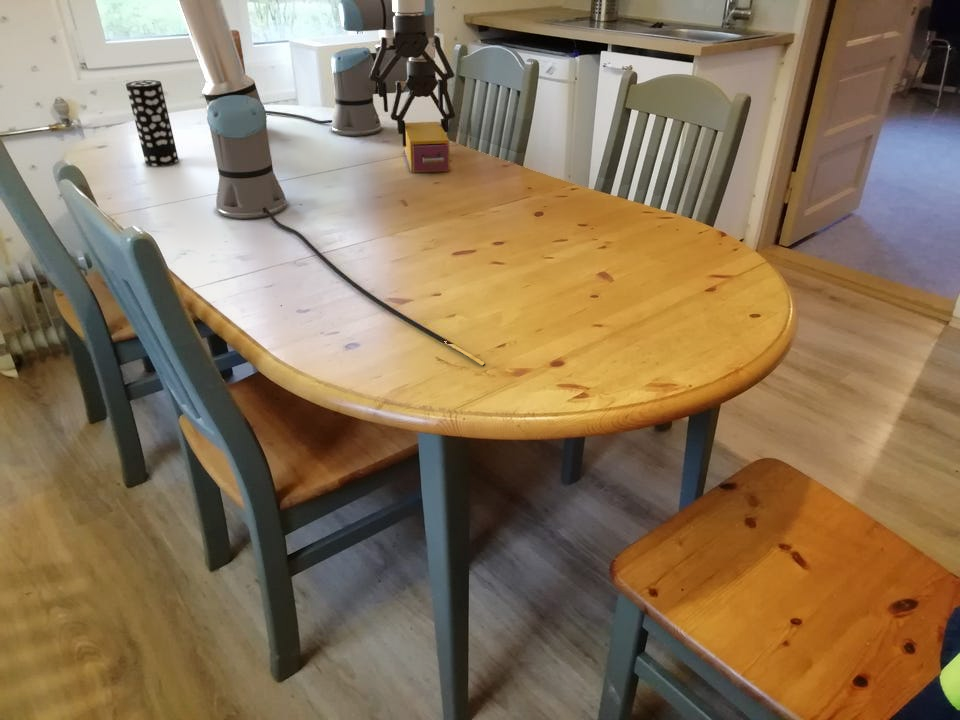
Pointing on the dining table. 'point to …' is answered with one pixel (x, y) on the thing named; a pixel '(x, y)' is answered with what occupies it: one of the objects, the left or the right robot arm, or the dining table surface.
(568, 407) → the dining table surface
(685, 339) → the dining table surface
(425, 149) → the drawer
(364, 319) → the dining table surface
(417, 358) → the dining table surface
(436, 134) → the cabinet
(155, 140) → the black white spotted cylinder
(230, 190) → the left robot arm
